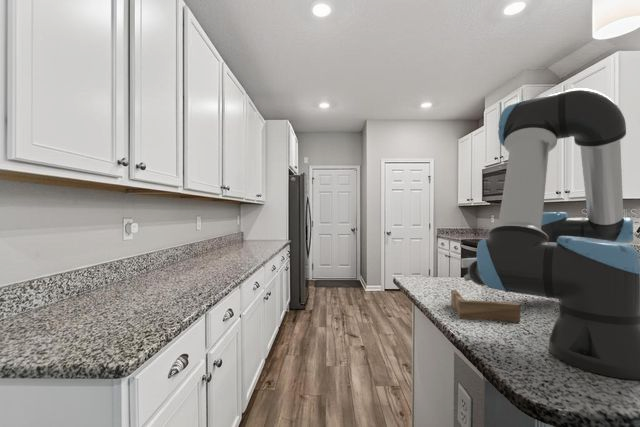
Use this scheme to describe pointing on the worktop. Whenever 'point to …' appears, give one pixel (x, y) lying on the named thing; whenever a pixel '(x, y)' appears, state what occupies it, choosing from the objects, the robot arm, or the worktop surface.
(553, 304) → the worktop surface
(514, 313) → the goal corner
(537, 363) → the worktop surface
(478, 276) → the ceramic mug
